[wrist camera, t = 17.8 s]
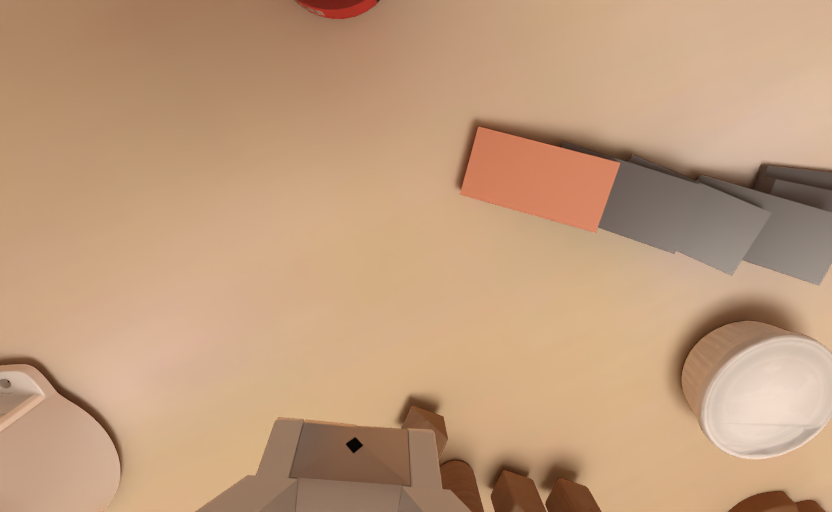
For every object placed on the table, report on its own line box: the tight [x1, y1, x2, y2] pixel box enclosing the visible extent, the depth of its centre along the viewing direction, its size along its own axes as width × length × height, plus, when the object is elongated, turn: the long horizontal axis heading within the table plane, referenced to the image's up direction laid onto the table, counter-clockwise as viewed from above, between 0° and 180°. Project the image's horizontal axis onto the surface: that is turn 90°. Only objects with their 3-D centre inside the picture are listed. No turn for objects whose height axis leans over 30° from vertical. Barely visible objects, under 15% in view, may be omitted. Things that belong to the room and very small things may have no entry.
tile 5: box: [753, 165, 832, 190], centre depth 41 cm, size 2×5×10 cm
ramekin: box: [682, 321, 832, 459], centre depth 43 cm, size 11×11×5 cm
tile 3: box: [696, 174, 832, 285], centre depth 38 cm, size 2×5×10 cm
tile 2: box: [628, 155, 772, 276], centre depth 38 cm, size 2×5×10 cm
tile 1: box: [561, 142, 706, 254], centre depth 37 cm, size 2×5×10 cm
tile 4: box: [756, 176, 832, 212], centre depth 40 cm, size 2×5×10 cm
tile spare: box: [460, 127, 620, 233], centre depth 37 cm, size 2×5×10 cm
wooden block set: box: [401, 406, 601, 512], centre depth 42 cm, size 18×9×10 cm, turn 67°
